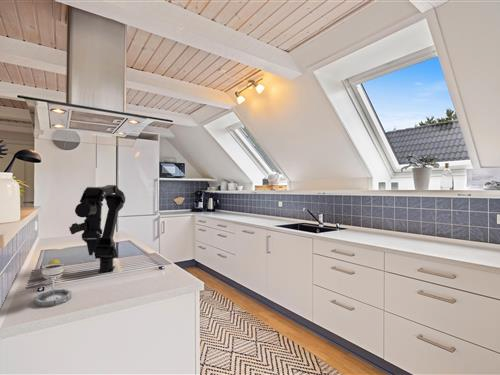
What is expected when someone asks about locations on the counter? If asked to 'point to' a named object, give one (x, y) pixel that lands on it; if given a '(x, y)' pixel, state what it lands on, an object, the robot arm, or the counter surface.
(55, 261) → the lemon
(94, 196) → the robot arm
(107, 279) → the counter surface
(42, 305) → the holder
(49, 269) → the wineglass
